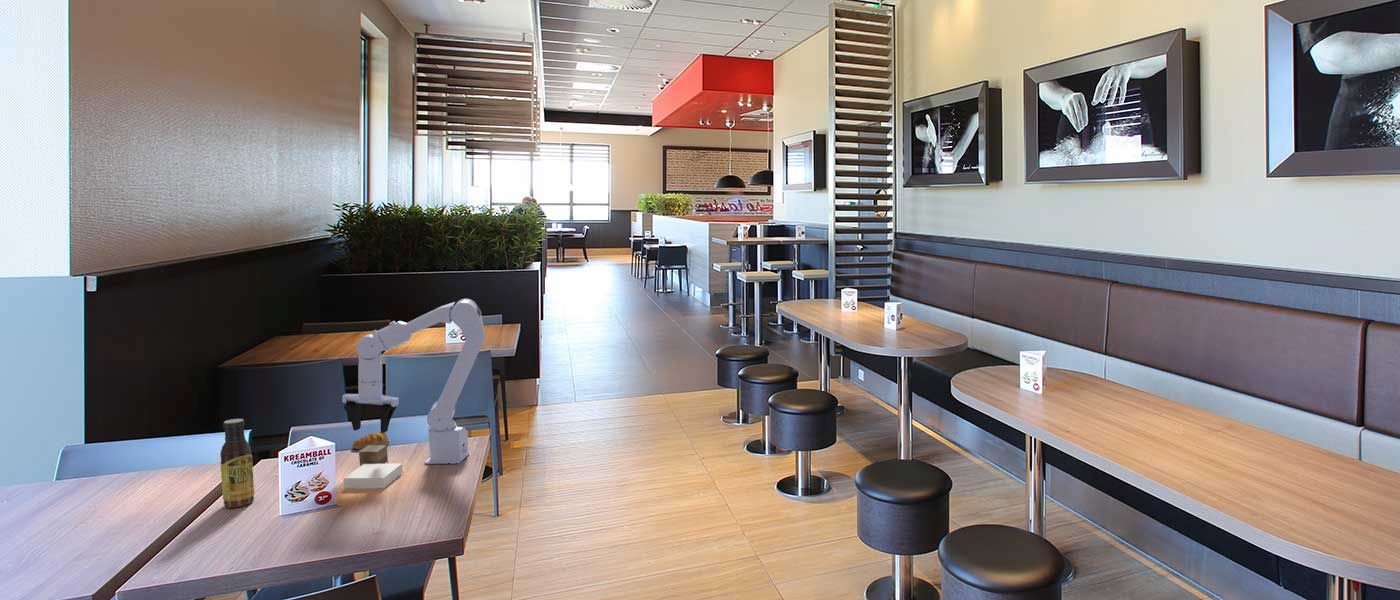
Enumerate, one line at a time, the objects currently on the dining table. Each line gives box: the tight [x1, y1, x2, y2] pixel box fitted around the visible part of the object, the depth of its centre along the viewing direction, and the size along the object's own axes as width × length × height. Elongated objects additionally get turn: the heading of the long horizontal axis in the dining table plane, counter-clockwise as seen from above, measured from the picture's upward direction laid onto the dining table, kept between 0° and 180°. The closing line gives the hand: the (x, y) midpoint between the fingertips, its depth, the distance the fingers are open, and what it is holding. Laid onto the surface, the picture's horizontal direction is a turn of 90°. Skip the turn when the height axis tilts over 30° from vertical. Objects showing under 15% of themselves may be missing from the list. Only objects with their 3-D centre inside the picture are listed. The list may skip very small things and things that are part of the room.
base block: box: [343, 463, 404, 489], centre depth 180 cm, size 10×10×3 cm
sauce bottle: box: [220, 418, 255, 509], centre depth 166 cm, size 6×6×20 cm
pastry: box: [352, 431, 390, 451], centre depth 207 cm, size 9×7×4 cm
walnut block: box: [358, 445, 389, 467], centre depth 190 cm, size 5×5×5 cm
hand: (370, 430), depth 190 cm, fingers open, 7 cm apart
